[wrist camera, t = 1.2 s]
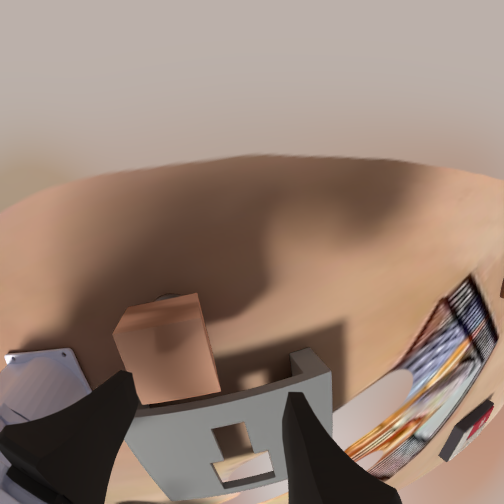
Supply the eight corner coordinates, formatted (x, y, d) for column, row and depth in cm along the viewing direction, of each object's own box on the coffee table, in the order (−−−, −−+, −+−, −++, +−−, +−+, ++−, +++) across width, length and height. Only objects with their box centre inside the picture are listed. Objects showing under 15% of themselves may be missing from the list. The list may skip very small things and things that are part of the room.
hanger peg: (152, 349, 21) (142, 404, 14) (135, 294, 20) (112, 334, 13) (210, 338, 22) (221, 391, 15) (196, 281, 21) (200, 317, 14)
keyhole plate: (170, 473, 24) (171, 501, 19) (120, 388, 21) (111, 419, 17) (316, 439, 27) (331, 463, 23) (309, 347, 24) (331, 370, 20)
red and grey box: (480, 434, 39) (447, 464, 35) (470, 428, 43) (437, 455, 39) (496, 403, 37) (466, 433, 33) (485, 397, 41) (454, 424, 38)
